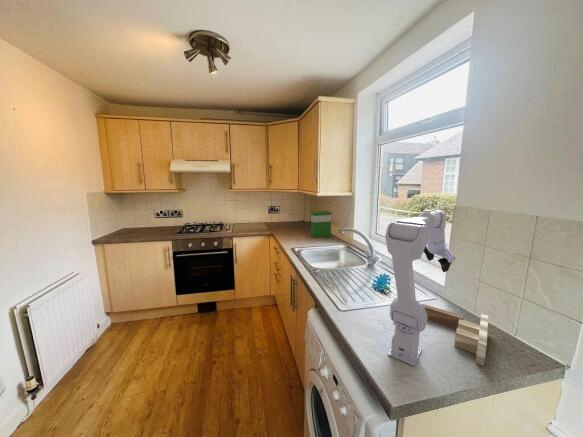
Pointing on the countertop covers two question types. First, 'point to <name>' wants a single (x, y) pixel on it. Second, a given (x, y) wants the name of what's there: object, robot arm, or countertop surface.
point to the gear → (382, 282)
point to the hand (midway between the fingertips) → (437, 265)
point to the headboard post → (473, 337)
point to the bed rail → (443, 316)
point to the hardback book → (320, 224)
